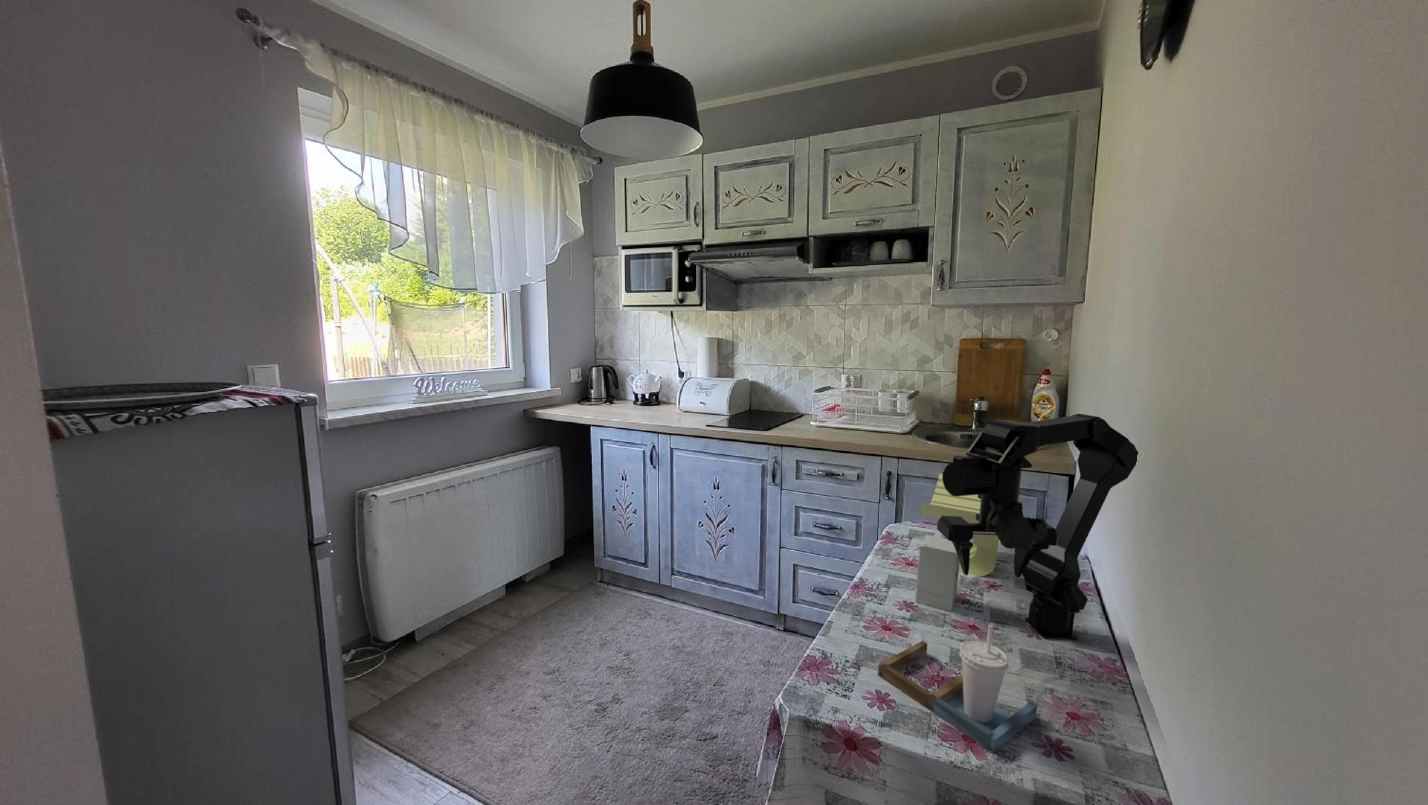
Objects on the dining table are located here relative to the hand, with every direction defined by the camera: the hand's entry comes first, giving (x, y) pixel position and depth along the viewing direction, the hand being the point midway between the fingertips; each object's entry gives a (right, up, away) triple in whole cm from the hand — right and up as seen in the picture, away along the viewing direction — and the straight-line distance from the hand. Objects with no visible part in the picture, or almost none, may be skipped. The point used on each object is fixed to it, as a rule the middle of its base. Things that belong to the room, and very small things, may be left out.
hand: (991, 575), depth 94 cm
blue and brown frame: (-14, -15, -13) cm, 24 cm away
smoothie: (-11, -15, -17) cm, 25 cm away
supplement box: (-3, -11, +17) cm, 20 cm away
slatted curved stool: (+11, -9, +36) cm, 39 cm away
